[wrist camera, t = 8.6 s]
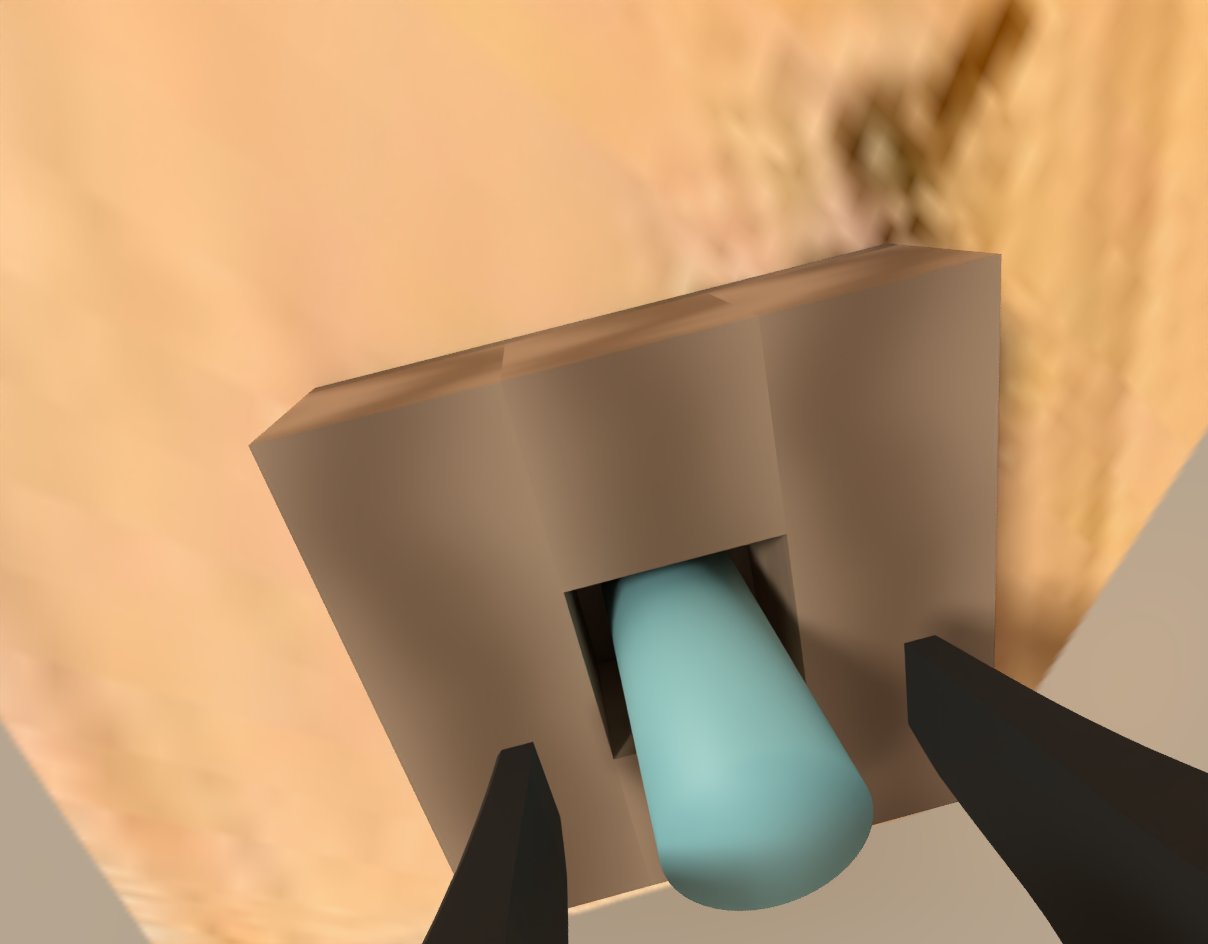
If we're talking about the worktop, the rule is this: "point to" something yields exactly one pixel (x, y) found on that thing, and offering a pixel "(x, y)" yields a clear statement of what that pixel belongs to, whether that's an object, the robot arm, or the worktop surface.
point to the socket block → (658, 523)
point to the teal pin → (730, 741)
